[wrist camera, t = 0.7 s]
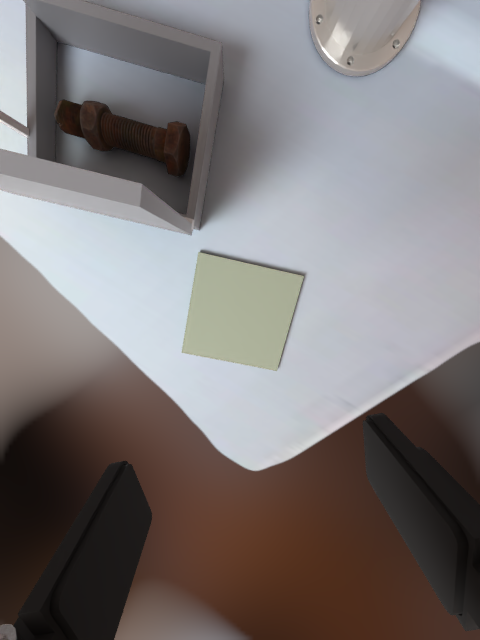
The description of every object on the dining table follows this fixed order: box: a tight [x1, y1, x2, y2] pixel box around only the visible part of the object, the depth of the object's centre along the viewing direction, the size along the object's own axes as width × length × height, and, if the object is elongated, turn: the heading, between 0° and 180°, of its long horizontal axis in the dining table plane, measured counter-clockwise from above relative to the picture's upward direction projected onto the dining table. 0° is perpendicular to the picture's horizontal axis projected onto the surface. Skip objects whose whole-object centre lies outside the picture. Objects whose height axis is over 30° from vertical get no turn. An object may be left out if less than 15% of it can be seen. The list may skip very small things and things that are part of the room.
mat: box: [182, 252, 304, 371], centre depth 36 cm, size 16×16×1 cm
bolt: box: [54, 100, 190, 176], centre depth 28 cm, size 6×5×15 cm
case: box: [0, 0, 224, 235], centre depth 20 cm, size 19×22×21 cm
